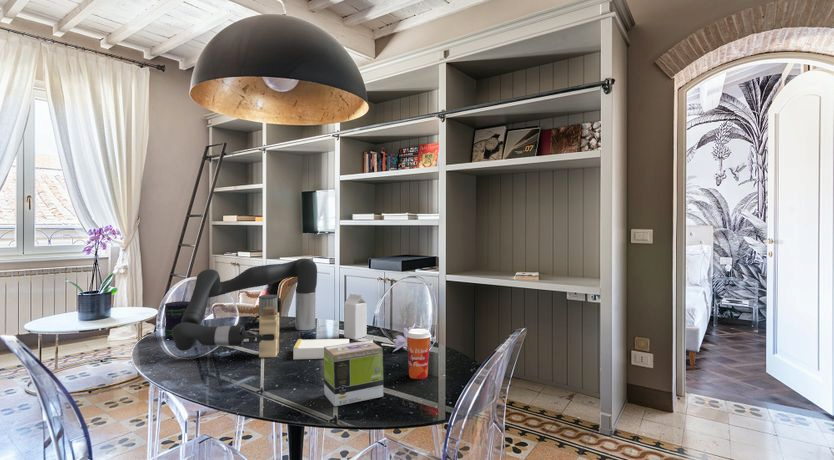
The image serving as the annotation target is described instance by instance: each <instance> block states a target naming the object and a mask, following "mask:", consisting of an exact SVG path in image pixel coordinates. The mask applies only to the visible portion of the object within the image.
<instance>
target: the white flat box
mask: <svg viewBox="0 0 834 460" xmlns="http://www.w3.org/2000/svg"><path fill="white" fill-rule="evenodd" d="M347 343H350V338H331V339H330V338H329V339H328V338H326V339H324V338H321V339H320V338H317V339H302V338H298V339H297V340H296V343H295V344H294V346H293V354H292V355H293V359H292V360H313V359H314V360H316V359H323V360H324V347H327V346H334V345H341V344H347Z"/></svg>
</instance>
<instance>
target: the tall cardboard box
mask: <svg viewBox="0 0 834 460" xmlns="http://www.w3.org/2000/svg"><path fill="white" fill-rule="evenodd" d="M258 316H259V315H258ZM258 322H259V324H258V326H259V327H258V328H259V334H274V340H272V341H264V340H263V341H262V342H260V343H258V358H276V357H277V356H278V355H279V352H280V318H279V313H276V315H275V316H263V313H262V314H261V315H260V316H259V318H258Z"/></svg>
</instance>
